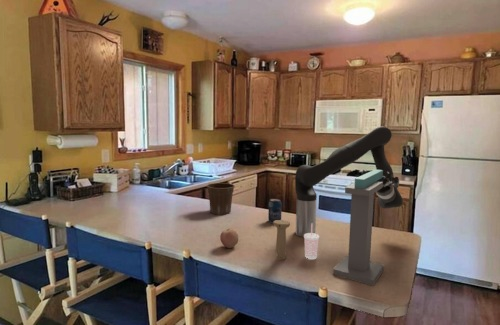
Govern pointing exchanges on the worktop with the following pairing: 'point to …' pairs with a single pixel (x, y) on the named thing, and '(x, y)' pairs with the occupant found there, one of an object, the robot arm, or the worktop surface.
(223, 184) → the plant pot
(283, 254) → the handle
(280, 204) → the soda can
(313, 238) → the beverage cup
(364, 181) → the teal bar
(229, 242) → the apple
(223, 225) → the worktop surface
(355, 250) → the gray stand
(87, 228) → the worktop surface
